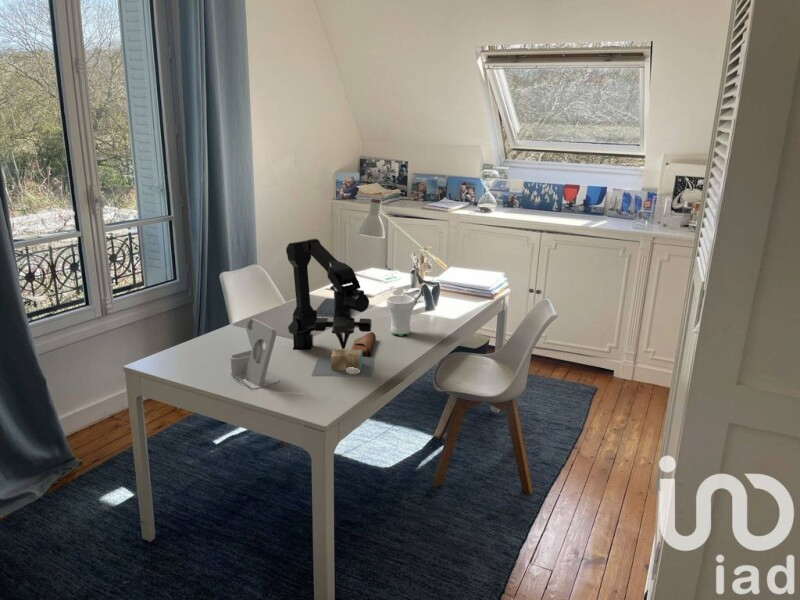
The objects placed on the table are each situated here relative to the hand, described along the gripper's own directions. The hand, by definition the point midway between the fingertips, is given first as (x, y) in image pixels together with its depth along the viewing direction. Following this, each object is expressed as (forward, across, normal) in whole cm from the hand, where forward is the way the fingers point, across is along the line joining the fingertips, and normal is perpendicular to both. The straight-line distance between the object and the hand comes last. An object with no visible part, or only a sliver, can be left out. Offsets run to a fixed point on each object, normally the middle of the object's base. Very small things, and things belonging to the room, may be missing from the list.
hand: (343, 348), depth 204 cm
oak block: (+4, -4, 0) cm, 6 cm away
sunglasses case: (+8, +5, +18) cm, 20 cm away
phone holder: (+7, -28, -9) cm, 31 cm away
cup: (+7, +19, +34) cm, 40 cm away
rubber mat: (+7, 0, 0) cm, 7 cm away
